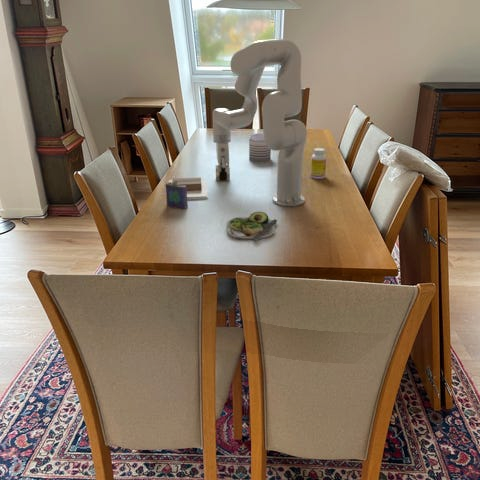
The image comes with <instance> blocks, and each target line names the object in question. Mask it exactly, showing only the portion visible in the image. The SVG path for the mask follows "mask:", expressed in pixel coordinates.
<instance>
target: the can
mask: <svg viewBox="0 0 480 480" xmlns="http://www.w3.org/2000/svg"><path fill="white" fill-rule="evenodd" d="M248 140H249V141H248V142H249V143H248V145H249V147H248V150H249V151H248V152H249V153H248V159H249V160H250V162H251V163H258V164H261V163H263V164H264V163H265V164H266V163H268V162H270V161H271V160H272V159H271V155H272V154H271V153H272V152H271V151H272V150H271V149H269V148H268V147H267V145H266V143H265V140H264V134H263V133H254V134H250V135H249V136H248ZM249 160H248V161H249Z"/></svg>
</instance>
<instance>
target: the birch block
mask: <svg viewBox="0 0 480 480" xmlns="http://www.w3.org/2000/svg"><path fill="white" fill-rule="evenodd" d="M221 167H222V166H221ZM230 168H231V167H230V164H229V165H227V164H226V171H227V180H230V181H231V172H230V171H231V170H230ZM219 172H220V165H218V164H215V180H216V182H225V181H227V180H222V181H220V175H219ZM227 182H228V181H227Z"/></svg>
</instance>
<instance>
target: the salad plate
mask: <svg viewBox="0 0 480 480" xmlns="http://www.w3.org/2000/svg"><path fill="white" fill-rule="evenodd" d="M277 222H278V219H275V218H274V219H271V218H269V216H268V214H267V213H266V212H264V211H255V212H252V214H250V216H248V217H247V216H245V217H243V216H242V217H240V216H239V217H236V216H235V217H232V218H230V219H228V220H227V221H226V233H227V234H228V235H229V236H230V237H232V238H233V239H237V240H240V239H241V241H255V242H257V241H259V240H262V239H266V238H268V237H272V236H273V235H274V234H275V232H276V229H275V225H276V224H277ZM233 229H234V230H233ZM232 230H233V231H232ZM234 231H237V232H238V231H239V232H243V233H244V235H238V234H236V233H235V232H234ZM234 233H235V234H234ZM245 235H246V236H245Z"/></svg>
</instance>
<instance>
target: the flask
mask: <svg viewBox="0 0 480 480" xmlns="http://www.w3.org/2000/svg"><path fill="white" fill-rule="evenodd" d="M173 182H174V183H171V182H170V183H169V182H166V183H165V193H166V196H165V197H166V206H167V207H169V208H174V209H181V210H187V209H188V208H189V207H188V206H189V205H188V200H187V187H186V186H185V185H178V184H177V182H178V181H177V180H176V181H175V180H174V181H173Z"/></svg>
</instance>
